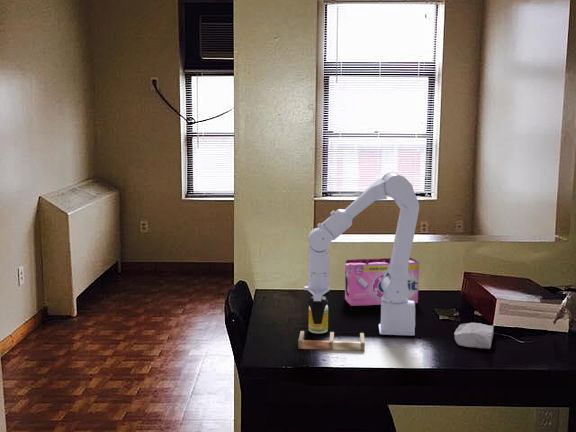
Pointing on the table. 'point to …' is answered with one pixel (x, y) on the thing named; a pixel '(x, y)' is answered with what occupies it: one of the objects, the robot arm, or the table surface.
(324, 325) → the supplement bottle
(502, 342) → the table surface
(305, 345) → the e-shaped wooden frame
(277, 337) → the table surface
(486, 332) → the stone block
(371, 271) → the gum box
